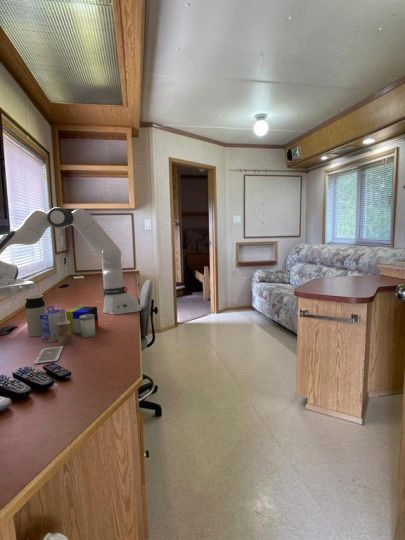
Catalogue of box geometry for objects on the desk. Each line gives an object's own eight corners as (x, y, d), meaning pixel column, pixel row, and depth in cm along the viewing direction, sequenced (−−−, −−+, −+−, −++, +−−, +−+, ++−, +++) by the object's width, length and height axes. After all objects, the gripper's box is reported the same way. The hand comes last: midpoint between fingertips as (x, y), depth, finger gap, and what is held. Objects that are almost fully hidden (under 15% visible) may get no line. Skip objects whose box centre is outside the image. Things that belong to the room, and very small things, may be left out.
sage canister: (97, 332, 144) (95, 313, 143) (94, 336, 138) (93, 317, 137) (82, 333, 143) (80, 314, 142) (79, 338, 137) (77, 318, 136)
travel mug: (51, 332, 146) (47, 295, 144) (34, 337, 140) (30, 298, 138) (41, 330, 151) (37, 293, 148) (25, 335, 144) (20, 297, 142)
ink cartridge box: (58, 334, 144) (55, 303, 142) (68, 335, 142) (65, 304, 140) (41, 341, 134) (38, 309, 133) (51, 342, 133) (48, 309, 131)
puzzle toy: (87, 333, 144) (85, 312, 143) (68, 332, 146) (65, 311, 145) (98, 326, 154) (96, 306, 152) (80, 326, 156) (78, 306, 154)
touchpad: (63, 348, 127) (63, 343, 126) (57, 363, 112) (57, 357, 112) (42, 351, 125) (42, 346, 124) (33, 366, 110) (33, 360, 110)
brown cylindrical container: (72, 340, 135) (70, 320, 134) (71, 344, 130) (69, 323, 129) (59, 342, 133) (57, 321, 132) (58, 346, 128) (56, 325, 127)
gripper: (-19, 284, 148) (-5, 286, 140) (25, 278, 165) (40, 280, 157) (-17, 297, 149) (-3, 300, 141) (27, 290, 166) (41, 292, 158)
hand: (20, 289), depth 149 cm, fingers closed
